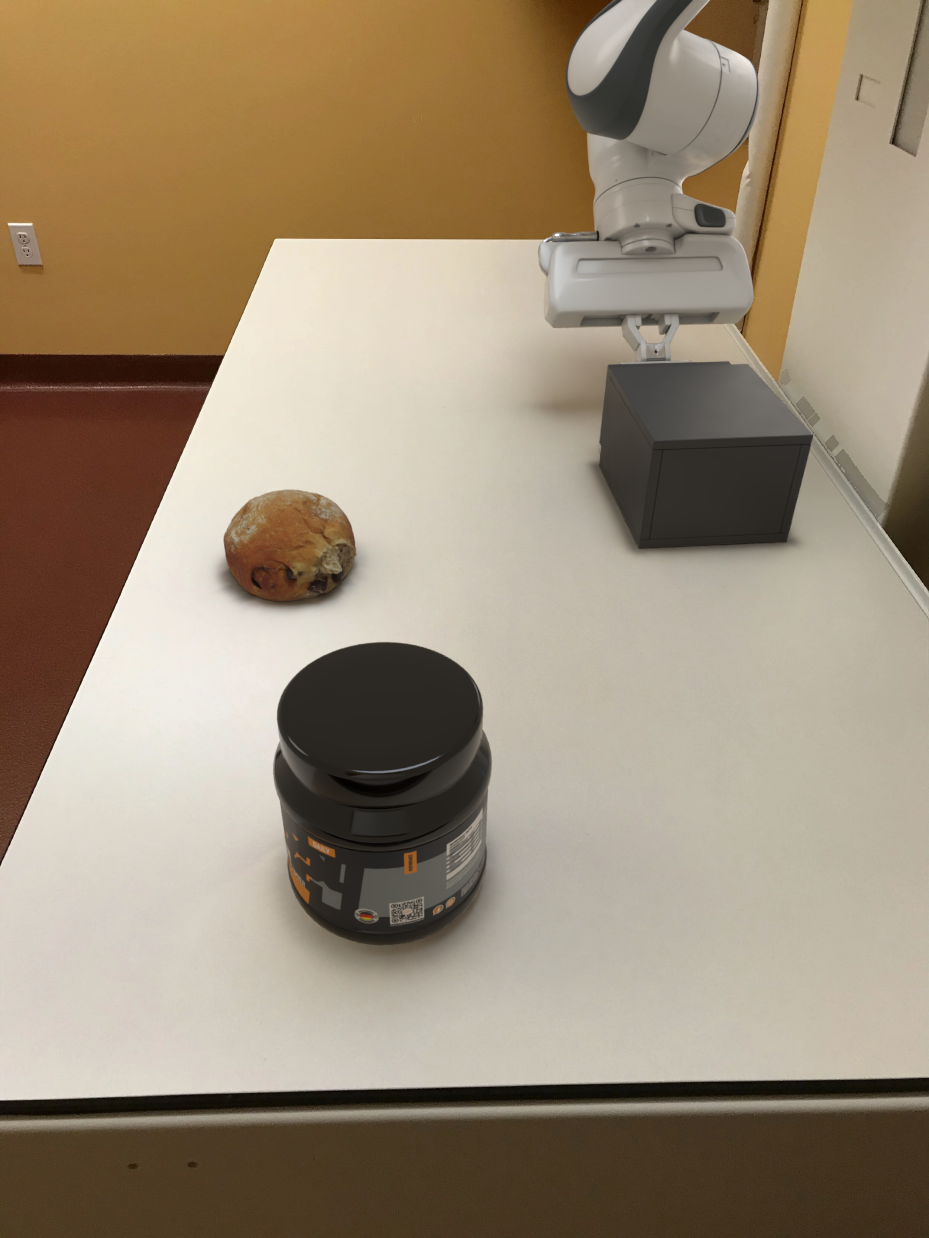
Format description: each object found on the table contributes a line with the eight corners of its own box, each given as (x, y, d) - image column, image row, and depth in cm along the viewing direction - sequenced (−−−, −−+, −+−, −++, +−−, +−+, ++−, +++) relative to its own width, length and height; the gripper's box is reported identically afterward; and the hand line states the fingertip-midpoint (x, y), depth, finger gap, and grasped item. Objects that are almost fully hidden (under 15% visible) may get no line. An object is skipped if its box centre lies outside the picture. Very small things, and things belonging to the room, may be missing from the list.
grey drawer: (589, 424, 95) (597, 347, 90) (701, 420, 96) (714, 344, 91) (634, 513, 81) (646, 428, 76) (764, 508, 82) (784, 423, 77)
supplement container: (301, 798, 55) (281, 632, 48) (483, 797, 56) (489, 632, 49) (276, 957, 47) (246, 785, 40) (490, 956, 47) (499, 784, 40)
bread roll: (349, 574, 81) (335, 479, 79) (374, 591, 71) (358, 483, 69) (230, 594, 78) (213, 496, 76) (239, 614, 68) (219, 502, 67)
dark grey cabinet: (598, 465, 90) (609, 367, 84) (728, 460, 91) (748, 363, 85) (638, 548, 78) (653, 440, 72) (787, 541, 79) (814, 435, 74)
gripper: (541, 214, 90) (553, 353, 88) (751, 212, 92) (767, 347, 90) (531, 250, 96) (542, 380, 94) (727, 247, 98) (742, 374, 96)
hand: (654, 364), depth 92 cm, fingers closed, pressing on grey drawer
